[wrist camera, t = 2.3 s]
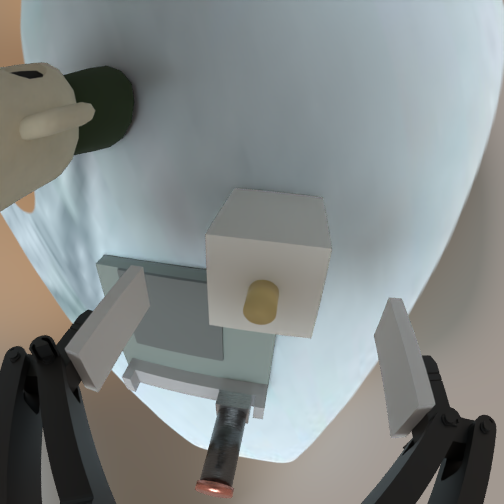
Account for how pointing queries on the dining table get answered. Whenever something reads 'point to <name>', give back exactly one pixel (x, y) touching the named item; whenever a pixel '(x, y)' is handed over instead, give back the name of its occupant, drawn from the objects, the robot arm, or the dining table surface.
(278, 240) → the housing
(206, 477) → the lever
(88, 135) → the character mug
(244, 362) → the base plate
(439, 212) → the dining table surface
